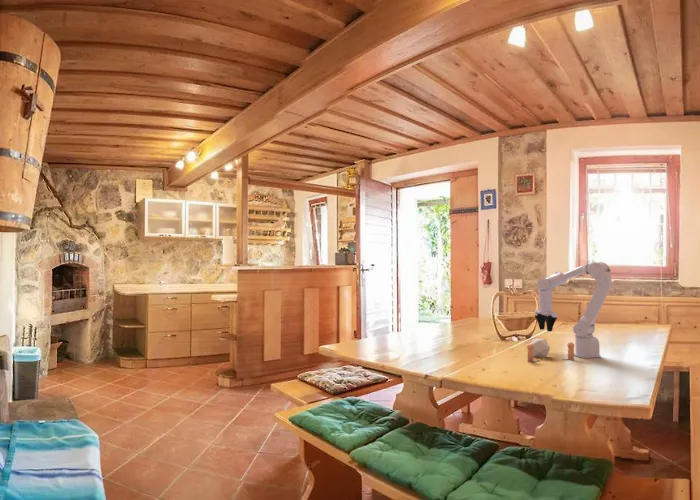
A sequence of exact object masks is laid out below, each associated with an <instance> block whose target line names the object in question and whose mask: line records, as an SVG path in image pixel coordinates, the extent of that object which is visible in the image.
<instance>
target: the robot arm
mask: <svg viewBox="0 0 700 500" xmlns="http://www.w3.org/2000/svg"><path fill="white" fill-rule="evenodd" d="M611 271H612V270H611V268H610V267H609V265H608V264H607V263H606V262H602V261H600V262H596V261H595V262H594V261H593V262H590V263H585V264H583V265H580V266H578V267H576V268H573V269H571V270H569V271H567V272H562V271H555V272H554V274H552V275H547V276H545V278H543V277H541V278H540V279H538V280H537V282H536V287H537V289H538V309H534V317H535V319H536V321H537V324H538V328H539V330H541V331H542V330H544V331H545V327H546V331H547V332H552V331H553V329H554V324H555V322H556V321H557V319H558V313H556V312H554V311H553V306H552V305H553V304H552V299H553V297H552V295H553V294H552V289H554V288H556V287H558V286H562V285H564V284H566V283H567V281H568V280H569V279H572V278H575V277H578V276H581V275H589V276H591V277H592V278H593V279H594V281H595V282H596V284H597V285H596V288H595V290H594V291H593V294H592V296H591V298H590V300H589V302H588V304H587V306H586V309H585V311H584V313H583V315H582V316H581V317H580V318H579V320H578V322H577V323H575V324H574V326H573V327H572V330H573V333H574V334H575V335H574V336H575V337H574V338H575V341H574V342H575V343H574V345H575V352H574V357H575V356H576V357H578V358H583V359H588V358H589V359H590V358H593V359H594V358H602V356H601V354H600V352H601V351H600V341H599V339H598V338H597V337H596V336H593V334H594V332H595V330H596V328H595V326H596V323H597V322H596V319H597V317H598V314H599V313H600V310H601V308H602V307H603V305H604V303H605V300H606V299H607V296H608V294H609V293H610V290H611V288H612V285H613V282H612V276H611V275H612V274H611V273H612V272H611Z"/></svg>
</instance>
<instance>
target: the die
mask: <svg viewBox="0 0 700 500" xmlns="http://www.w3.org/2000/svg"><path fill="white" fill-rule="evenodd" d="M530 344H532V345H533V346H534V349H533V350H534V358H543V359H546V358H547V357H548V354H549V352H550V348H551V347H550V345H549V343H548V341H547V339H546V338H532V340H531V342H530Z"/></svg>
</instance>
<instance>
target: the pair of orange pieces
mask: <svg viewBox="0 0 700 500" xmlns="http://www.w3.org/2000/svg"><path fill="white" fill-rule="evenodd" d="M526 348H527V362H529V363H534V362H540V360H537V359H536V360H534V358H535V357H534V350H533V349H534V346H533V345H532V344H531V343H529V344H527V345H526ZM574 353H575V343H573V342H567V358H562V359H561V360H562V361H575V355H574Z"/></svg>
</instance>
